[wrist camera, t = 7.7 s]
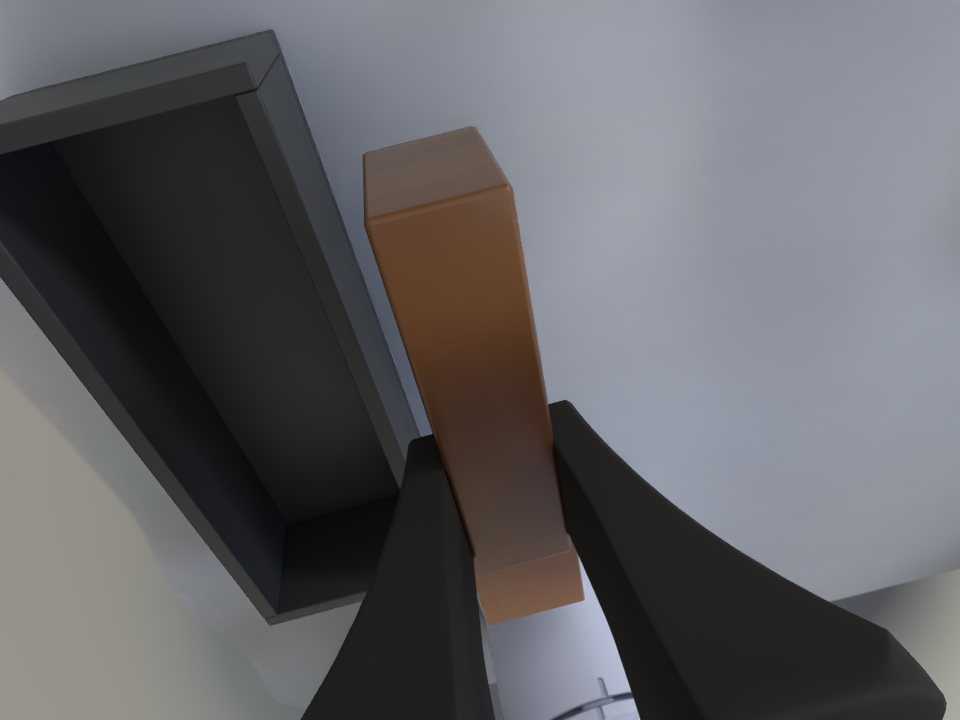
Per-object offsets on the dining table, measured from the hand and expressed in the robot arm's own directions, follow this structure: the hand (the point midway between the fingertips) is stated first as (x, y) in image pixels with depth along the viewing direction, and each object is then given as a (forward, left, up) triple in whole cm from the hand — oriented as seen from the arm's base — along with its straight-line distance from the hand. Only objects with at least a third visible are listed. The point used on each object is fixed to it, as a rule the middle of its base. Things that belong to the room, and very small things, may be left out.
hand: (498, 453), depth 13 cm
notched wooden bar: (0, 0, -2) cm, 2 cm away
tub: (-1, +6, -9) cm, 11 cm away
